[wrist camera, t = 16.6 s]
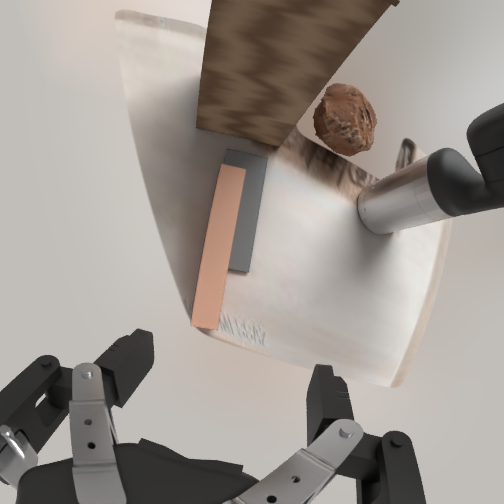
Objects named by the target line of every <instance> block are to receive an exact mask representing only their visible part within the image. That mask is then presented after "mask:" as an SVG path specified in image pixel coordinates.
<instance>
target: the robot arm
mask: <svg viewBox="0 0 504 504" xmlns="http://www.w3.org/2000/svg"><path fill="white" fill-rule="evenodd" d="M467 140H468V143H469V146H470V148H471V151H472V153H473V155H474V157H475V160H476V162H477V164H478V167H479V169H480V172H481V174H482V175H481V174H479V173H478V172H477V171H476V170H475V169H474V168H473V167H472V166H471V165H470V164H469V162H468V161H467V160H466V159H465V158H464V157H463V156H462V155H461V154H460V153H459V152H457V151H456V150H454V149H451V148H443V149H440V150H438V151H436V152H434V153H432V154H430V155H428V156H426V157H424V158H422V159H420V160H418V161H416V162H414V163H412V164H410V165H408V166H407V167H405V168H403V169H401V170H399V171H397V172H395V173H393V174H391V175H389V176H387V177H385V178H383V179H381V180H379V181H377V182H375V183H373V184H371V185H369V186H367V187H365V188H364V189H363V190H362V191H361V193H360V195H359V198H358V211H359V215H360V218H361V220H362V222H363V224H364V225H365V226H366V227H367V228H368V229H369V230H370V231H372V232H373V233H376V234H386V233H390V232H395V231H399V230H403V229H407V228H412V227H416V226H420V225H424V224H428V223H432V222H436V221H440V220H444V219H448V218H452V217H456V216H460V215H466V214H472V213H477V212H481V211H486V210H491V209H497V208H502V207H504V103H503V104H500V105H498V106H496V107H494V108H492V109H490V110H488V111H486V112H485V113H483V114H481V115H480V116H479V117H477V118H476V119H475V120H473V122H472V123H471V124H470V125H469V127H468V129H467ZM153 363H154V345H153V334H152V332H149V331H145V330H142V329H136V330H135V331H134V332H133V333H132V334H131V335H130V336H128V335H126V336H124V337H121V338H119V339H118V340H117V341H116V342H114V343H113V345H111V346H110V347H109V348H108V350H106V351H105V352H104V353H103V354H102V355H101V356H100V357H99V358H98V359H97V360H96V361H95V362H94V363H81V364H79V365H77V366H76V367H75V368H74V369H71V368H66V367H61V366H60V363H59V360H58V359H57V358H56V357H54V356H51V355H44V356H41V357H39V358H37V359H36V360H35V361H34V362H33V363H32V364H30V365H29V366H28V367H27V368H26V369H25V370H24V371H22V372H21V373H20V374H19V375H18V376H17V377H16V378H15V379H14V380H12V381H11V382H10V383H9V384H8V385H7V386H6V387H5V388H4V389H3V390H2V391H1V392H0V481H1V482H3V483H4V484H7V485H11V486H12V487H14V488H15V489H16V490H17V499H16V504H310V503H311V501H312V500H313V499H314V498H315V497H316V496H317V495H318V494H319V493H320V492H321V491H322V490H323V489H324V488H325V487H326V486H327V485H328V484H329V483H330V482H331V481H332V479H333V478H334V477H335V476H336V475H337V474H338V475H343V476H347V477H350V478H354V479H356V489H357V504H426V500H425V495H424V490H423V485H422V481H421V476H420V473H419V468H418V464H417V460H416V456H415V453H414V449H413V445H412V442H411V439H410V438H409V437H408V436H407V435H406V434H405V433H403V432H400V431H390V432H387V433H386V434H385V435H384V436H383V437H378V436H374V435H370V434H366V433H365V432H363V429H362V427H361V426H360V425H359V424H358V423H357V422H355V421H354V416H353V411H352V407H351V402H350V399H349V393H348V388H347V384H346V383H345V381H344V380H343V379H342V378H341V377H338V376H334V373H333V368H332V366H330V365H320V364H316V366H315V368H314V371H313V375H312V378H311V381H310V384H309V387H308V391H307V398H306V402H307V448H306V449H300V450H299V451H297V452H296V453H295V454H294V455H293V456H291V457H290V458H289V459H288V460H287V461H286V462H284V463H283V464H282V465H280V466H279V467H278V468H277V469H275V470H274V471H273V472H272V473H270V474H269V475H268V476H266V477H265V478H264V479H262V480H261V481H259V480H257V479H256V478H254V477H253V476H250V475H249V474H246V473H244V472H242V469H243V465H238V464H233V463H228V462H223V461H218V460H199V459H188V458H186V457H184V456H182V455H180V454H178V453H176V452H174V451H173V450H171V449H169V448H167V447H166V446H163V445H160V444H157V443H154V442H151V441H149V440H146V439H143V438H141V440H140V441H139V443H138V444H136V443H121V444H119V442H118V439H117V435H116V430H115V426H114V422H113V416H112V411H111V408H112V406H113V405H116V406H118V407H120V408H122V407H123V406H124V404H125V403H126V402H127V400H128V399H129V398H130V396H131V395H132V394H133V392H134V391H135V390H136V388H137V387H138V385H139V384H140V383H141V381H142V380H143V379H144V377H145V376H146V375H147V373H148V372H149V371H150V369H151V368H152V366H153ZM44 393H45V395H46V397H45V398H44V399H43V400H42V401H41V402H40V403H39V405H38V406H37V407H36V408H35V406H36V402H37V400H38V399H39V398H40V397H41V396H42V395H43V394H44ZM68 413H69V416H70V417H69V418H70V432H71V445H72V454H73V458H69V459H65V460H61V461H57V462H53V463H49V464H45V465H40V466H37V463H38V456H37V454H38V452H39V451H40V450H41V448H42V447H43V446H44V445H45V443H46V442H47V441H48V439H49V438H50V437H51V435H52V434H53V433H54V432H55V430H56V429H57V428H58V426H59V425H60V424H61V422H62V421H63V420H64V419H65V417H66V416H67V415H68Z"/></svg>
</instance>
